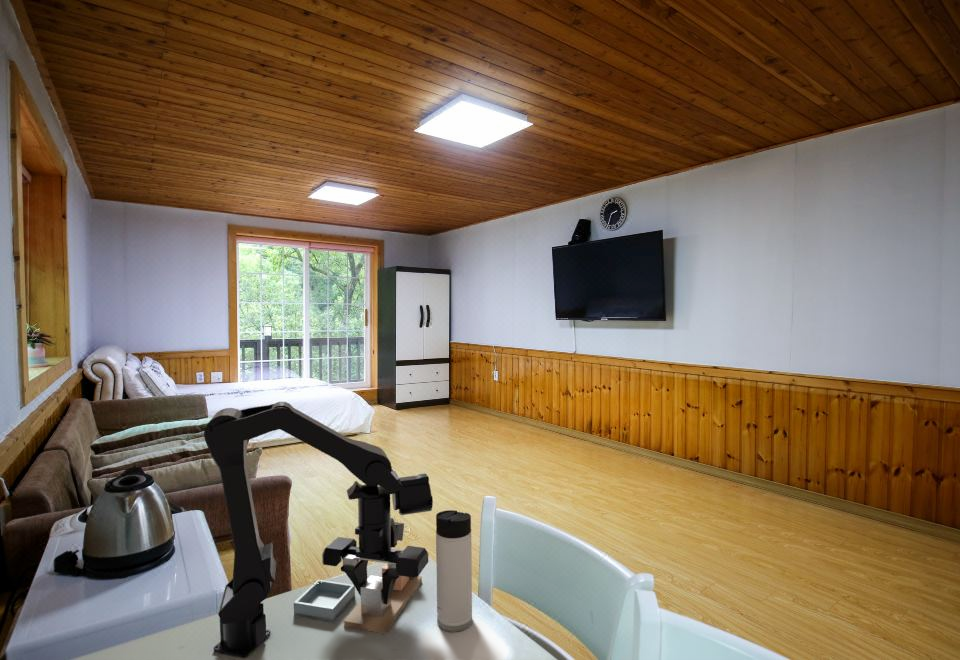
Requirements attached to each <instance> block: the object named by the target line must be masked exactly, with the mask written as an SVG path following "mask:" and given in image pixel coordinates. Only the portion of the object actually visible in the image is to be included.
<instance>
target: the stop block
mask: <svg viewBox="0 0 960 660" xmlns="http://www.w3.org/2000/svg"><path fill="white" fill-rule="evenodd" d="M387 568H388V566H387V563H384V565H383V566H382V568H381V575H382V574H383V573H384V572H385V571H386V570H387ZM408 581H409V577H406V576H400V577H399V578H398V579H396V582H395V585H394V588H393V590H400V591H401V590H402V589H403V587H404V586H405V585H406V583H407V582H408Z"/></svg>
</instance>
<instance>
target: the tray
mask: <svg viewBox="0 0 960 660" xmlns="http://www.w3.org/2000/svg"><path fill="white" fill-rule="evenodd" d="M324 581H325V582H324ZM321 582H322V583H321ZM317 583H319V584H317ZM313 584H316V585H313ZM313 584H312V585H310V587H308V589H307V590H305V591H304V592H303V593H302V594H301V595H300V596H299V597H298V598H297V599H295V601H294V602H293V616H294V617H297V618H298V617H299V618H304V619H310V620H316V621H321V622H328V623H332V624H333V623H335V621H336V620H337V619H338V618H339V616H340V615H341V614H342V613H343V612H344V611H345V610H346V609H347V607H348V606H349V605H350V604H351V603H352V601H354V599H355V598H356V588H355V586H354V584H353V583H352V584H350V583H344V582H339V581H338V582H337V581H331V580H324V579H317V580H316V581H315V582H314V583H313Z"/></svg>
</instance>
